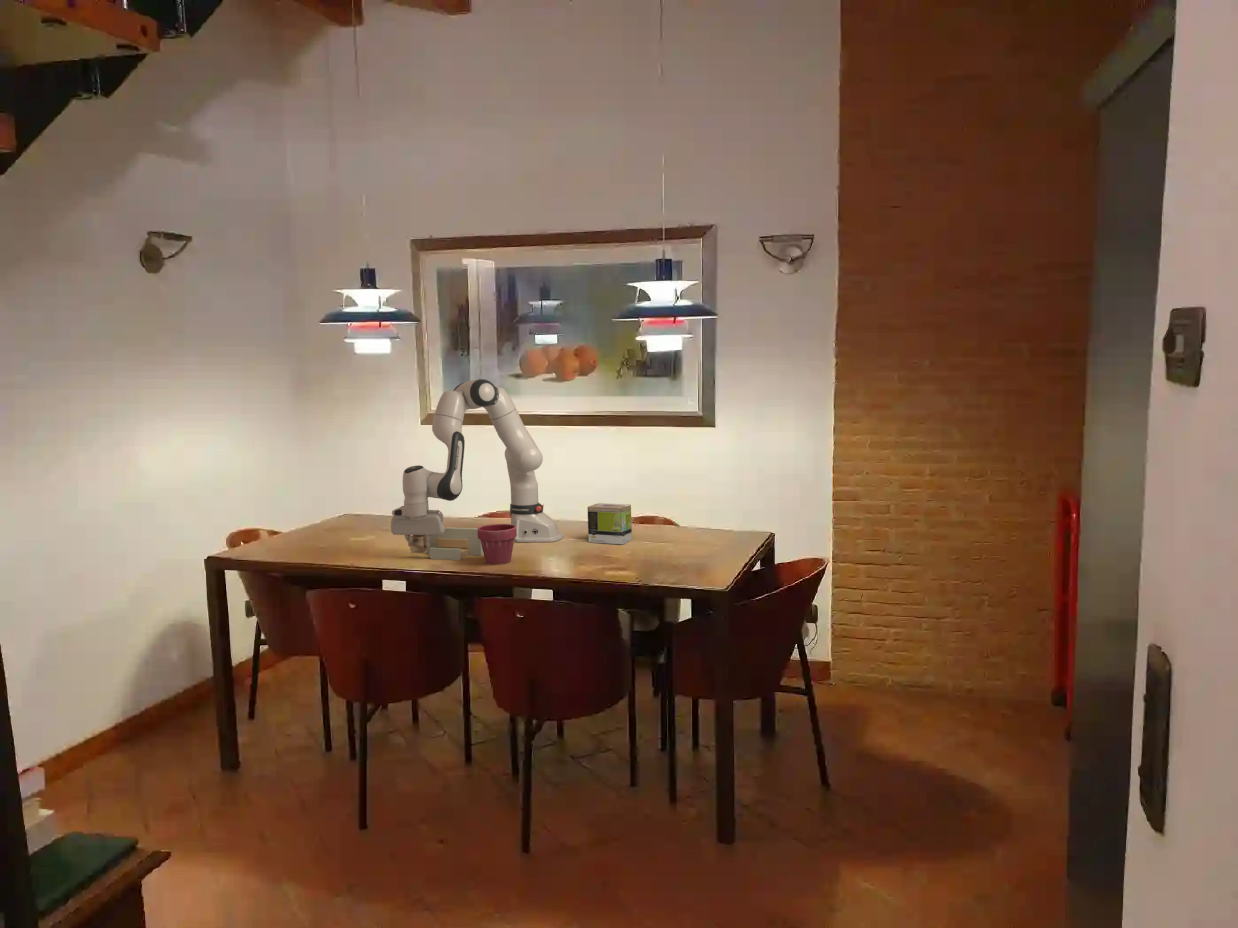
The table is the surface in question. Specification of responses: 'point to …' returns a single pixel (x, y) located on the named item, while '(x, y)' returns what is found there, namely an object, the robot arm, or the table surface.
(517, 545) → the table surface
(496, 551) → the plant pot
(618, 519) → the tea box
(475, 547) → the grey boxy piece
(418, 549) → the cabinet block
